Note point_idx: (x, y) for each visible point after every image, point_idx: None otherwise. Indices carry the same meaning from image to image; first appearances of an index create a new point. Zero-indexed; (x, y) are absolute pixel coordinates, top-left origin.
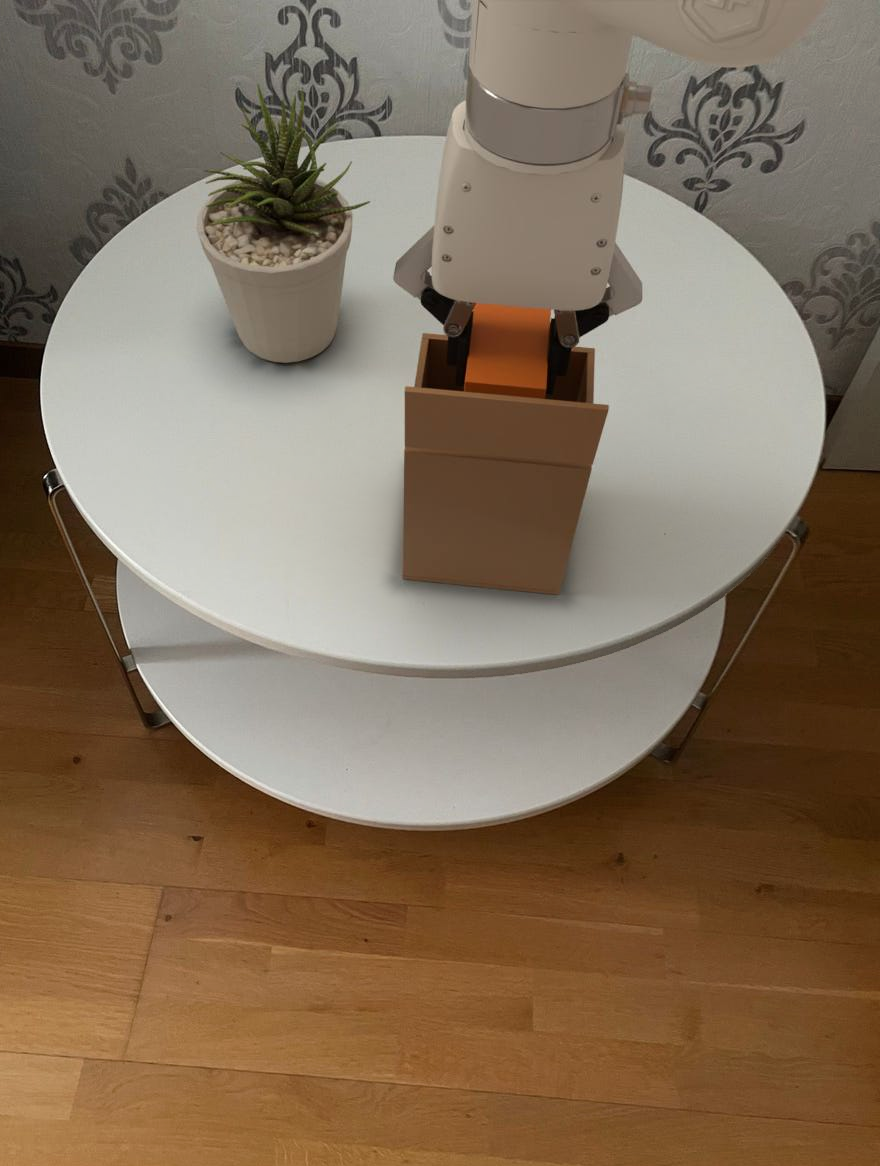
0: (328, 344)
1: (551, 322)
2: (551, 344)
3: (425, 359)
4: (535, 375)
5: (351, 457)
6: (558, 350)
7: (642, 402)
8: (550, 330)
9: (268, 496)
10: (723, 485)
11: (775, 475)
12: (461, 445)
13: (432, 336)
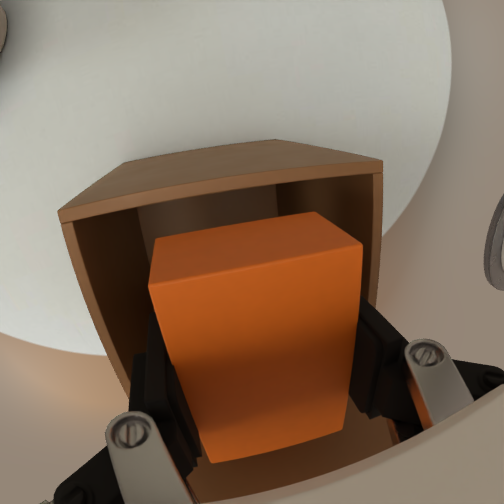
0: (2, 45)
1: (375, 364)
2: (368, 409)
3: (87, 276)
4: (327, 421)
5: (57, 170)
6: (378, 414)
7: (336, 26)
8: (369, 374)
9: (14, 242)
10: (404, 118)
11: (434, 105)
12: None
13: (76, 215)
